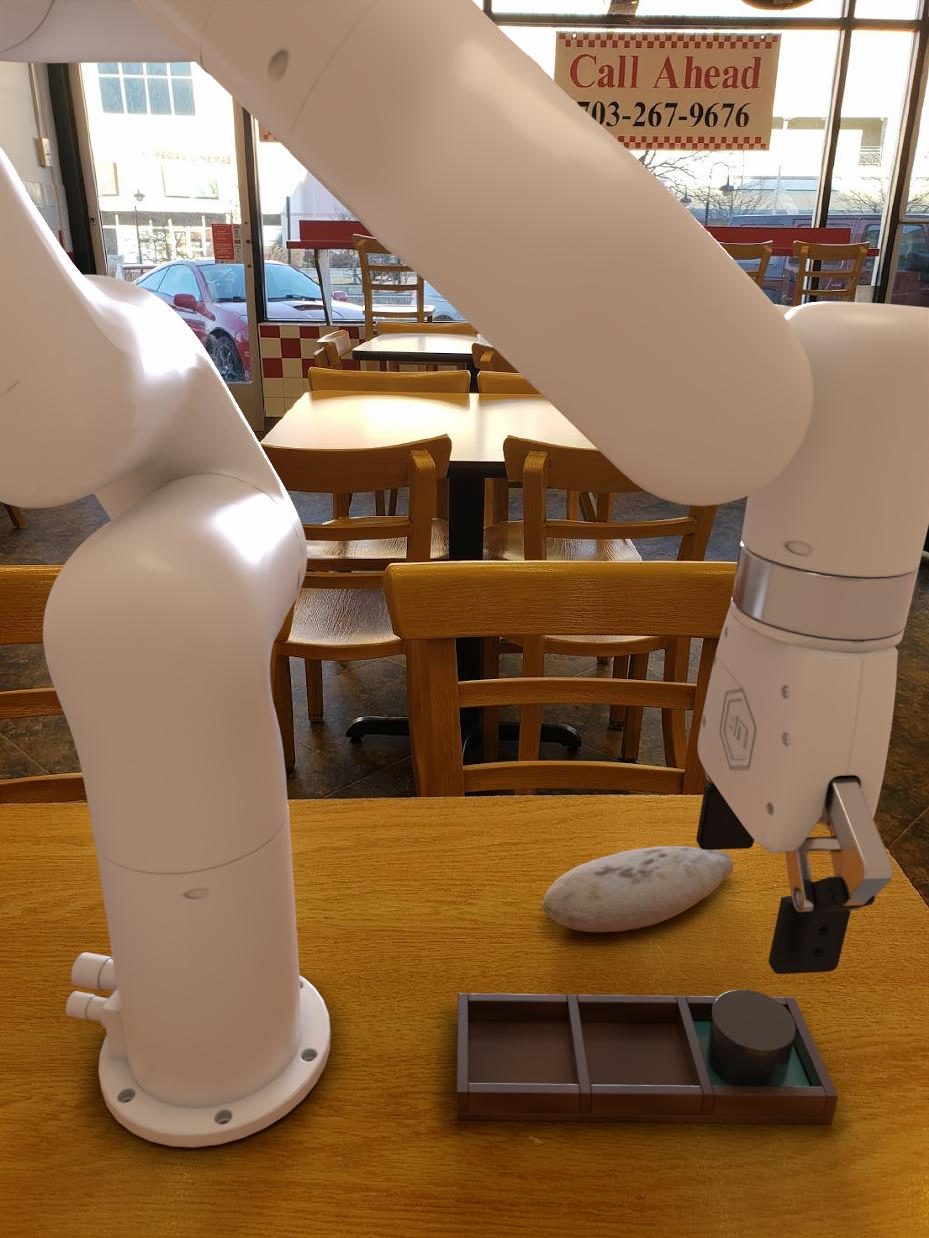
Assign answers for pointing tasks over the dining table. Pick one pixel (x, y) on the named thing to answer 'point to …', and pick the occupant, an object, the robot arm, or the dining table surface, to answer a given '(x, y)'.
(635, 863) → the decorative stone
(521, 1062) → the divided tray
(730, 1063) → the dark gray cylinder
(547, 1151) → the dining table surface
